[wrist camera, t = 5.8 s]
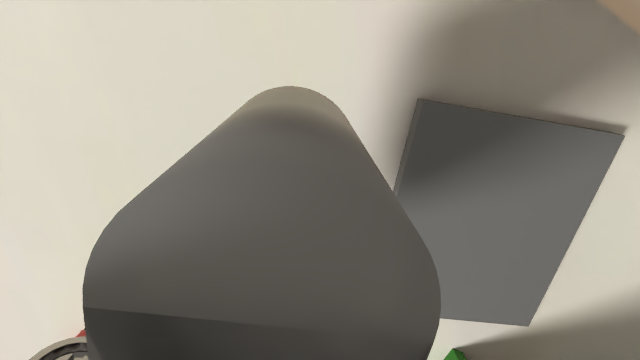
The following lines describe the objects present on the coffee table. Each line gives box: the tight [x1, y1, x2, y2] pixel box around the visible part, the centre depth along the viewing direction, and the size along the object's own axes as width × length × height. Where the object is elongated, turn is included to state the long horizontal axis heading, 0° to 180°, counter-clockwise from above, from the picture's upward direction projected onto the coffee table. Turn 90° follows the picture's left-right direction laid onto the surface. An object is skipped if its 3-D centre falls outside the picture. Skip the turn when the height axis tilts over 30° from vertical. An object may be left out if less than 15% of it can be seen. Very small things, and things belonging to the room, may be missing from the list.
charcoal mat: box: [393, 99, 625, 326], centre depth 21 cm, size 12×14×1 cm
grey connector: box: [83, 86, 441, 360], centre depth 7 cm, size 4×10×9 cm, turn 170°
